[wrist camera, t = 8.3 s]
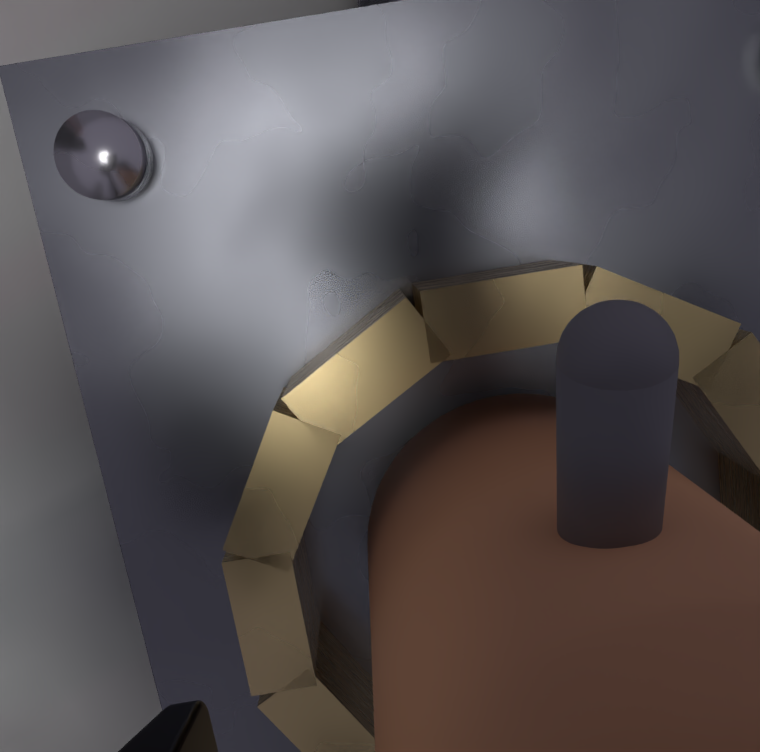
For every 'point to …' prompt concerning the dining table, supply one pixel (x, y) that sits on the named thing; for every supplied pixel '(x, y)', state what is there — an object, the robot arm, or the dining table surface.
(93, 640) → the dining table surface
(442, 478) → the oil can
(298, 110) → the gearbox housing
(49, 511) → the dining table surface
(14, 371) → the dining table surface
